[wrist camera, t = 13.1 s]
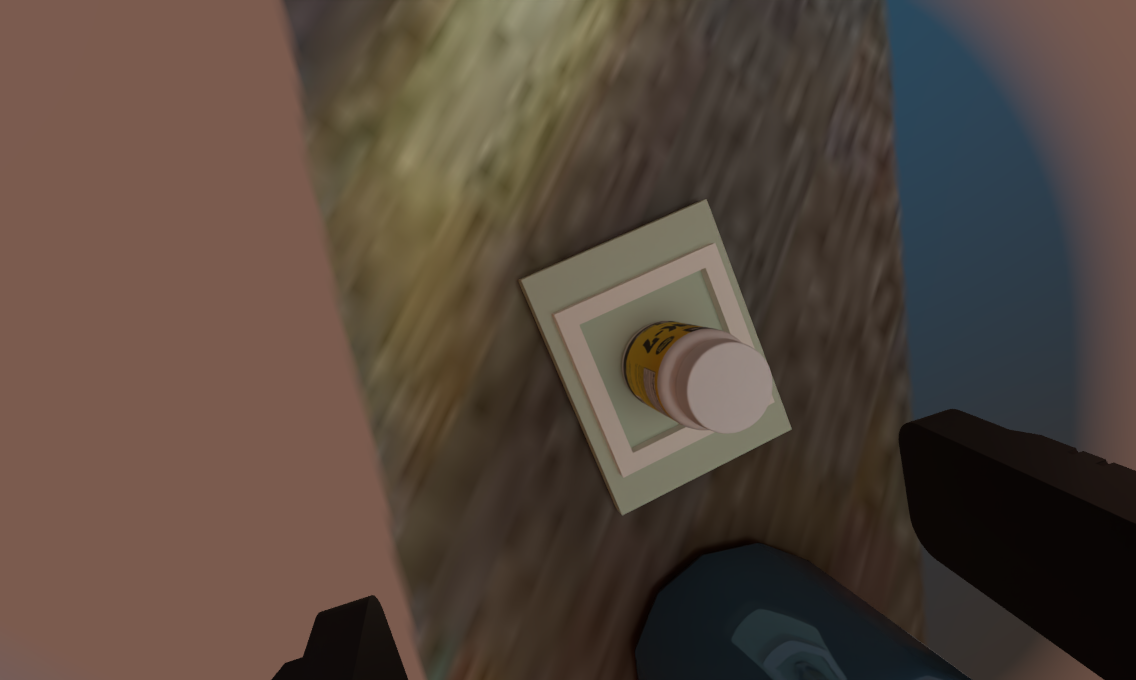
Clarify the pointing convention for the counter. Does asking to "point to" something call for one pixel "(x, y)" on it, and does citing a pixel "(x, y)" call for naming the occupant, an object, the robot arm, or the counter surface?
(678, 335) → the supplement bottle
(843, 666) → the wine bottle
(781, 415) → the grey-green flat tray
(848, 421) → the counter surface
